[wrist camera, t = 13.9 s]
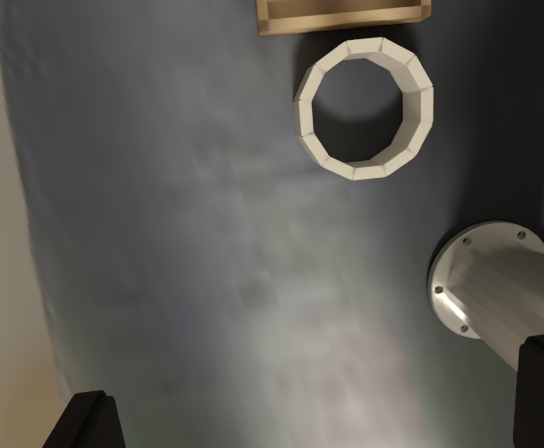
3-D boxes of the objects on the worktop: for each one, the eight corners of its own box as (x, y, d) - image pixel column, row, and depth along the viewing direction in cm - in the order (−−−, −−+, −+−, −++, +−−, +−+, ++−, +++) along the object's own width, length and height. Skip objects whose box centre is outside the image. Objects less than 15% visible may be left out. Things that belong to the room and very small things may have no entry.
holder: (413, 41, 36) (433, 32, 32) (413, 165, 39) (432, 171, 35) (288, 52, 36) (294, 45, 32) (298, 178, 39) (305, 185, 35)
